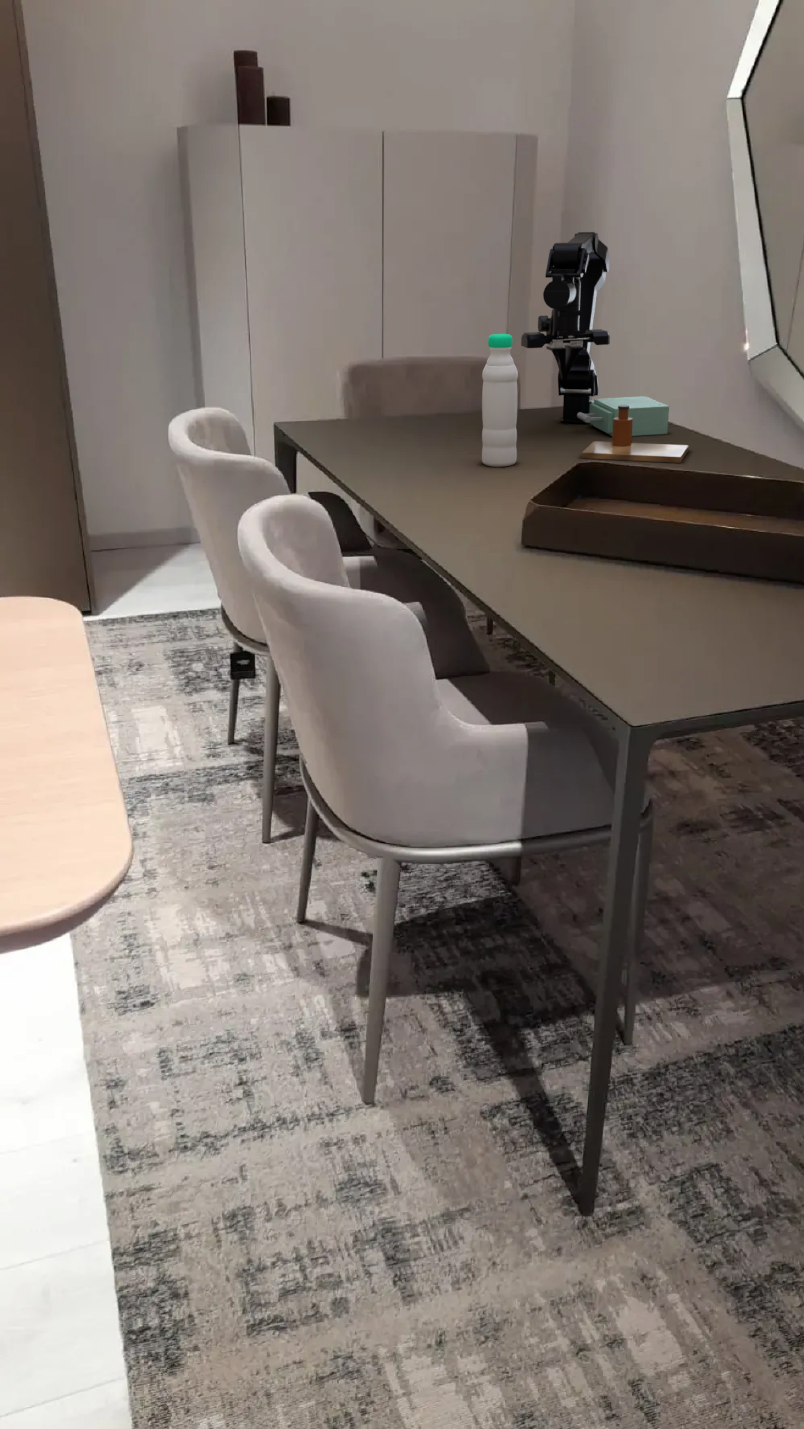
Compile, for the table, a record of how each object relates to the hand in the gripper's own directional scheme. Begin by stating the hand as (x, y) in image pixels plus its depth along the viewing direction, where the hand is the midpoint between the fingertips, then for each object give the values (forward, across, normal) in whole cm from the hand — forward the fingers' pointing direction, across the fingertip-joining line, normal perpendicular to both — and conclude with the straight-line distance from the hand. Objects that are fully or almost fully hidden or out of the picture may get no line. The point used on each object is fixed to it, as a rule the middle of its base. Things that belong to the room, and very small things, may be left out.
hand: (563, 379), depth 246 cm
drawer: (+11, -12, 0) cm, 16 cm away
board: (+12, -8, +26) cm, 30 cm away
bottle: (+11, -6, +22) cm, 25 cm away
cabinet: (+12, -16, 0) cm, 20 cm away
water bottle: (+12, +21, +27) cm, 36 cm away
